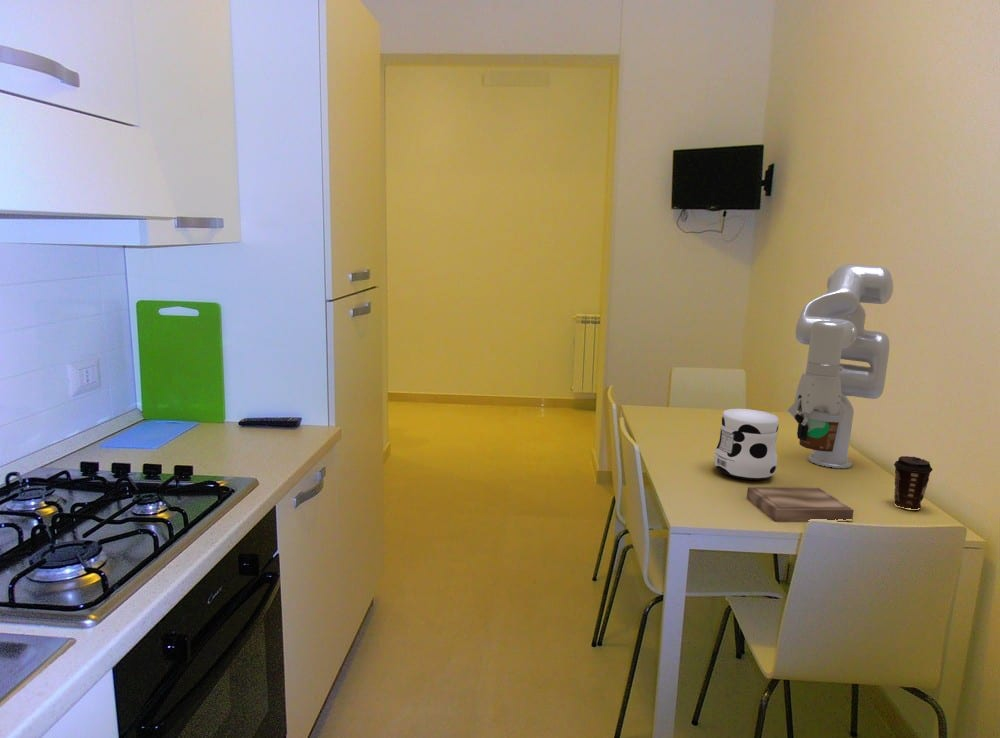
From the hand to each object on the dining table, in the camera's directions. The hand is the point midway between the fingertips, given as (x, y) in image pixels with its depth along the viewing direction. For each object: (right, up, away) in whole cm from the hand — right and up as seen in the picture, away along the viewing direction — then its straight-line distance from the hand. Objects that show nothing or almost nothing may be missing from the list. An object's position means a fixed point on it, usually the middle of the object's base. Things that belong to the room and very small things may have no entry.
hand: (813, 439), depth 186 cm
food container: (-1, -2, 0) cm, 2 cm away
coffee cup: (+28, -19, +7) cm, 34 cm away
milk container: (-9, -13, +27) cm, 31 cm away
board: (-4, -18, +1) cm, 19 cm away
